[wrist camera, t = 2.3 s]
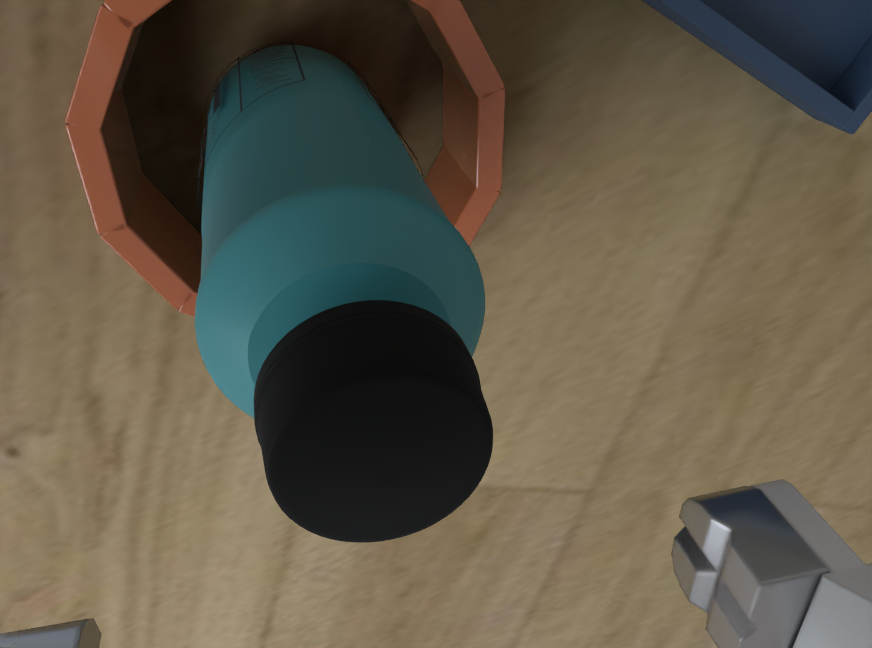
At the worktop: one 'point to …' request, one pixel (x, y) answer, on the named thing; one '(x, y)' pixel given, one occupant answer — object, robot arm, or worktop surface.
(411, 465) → the beverage bottle
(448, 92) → the bowl
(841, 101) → the tray
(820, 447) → the worktop surface
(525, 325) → the worktop surface
